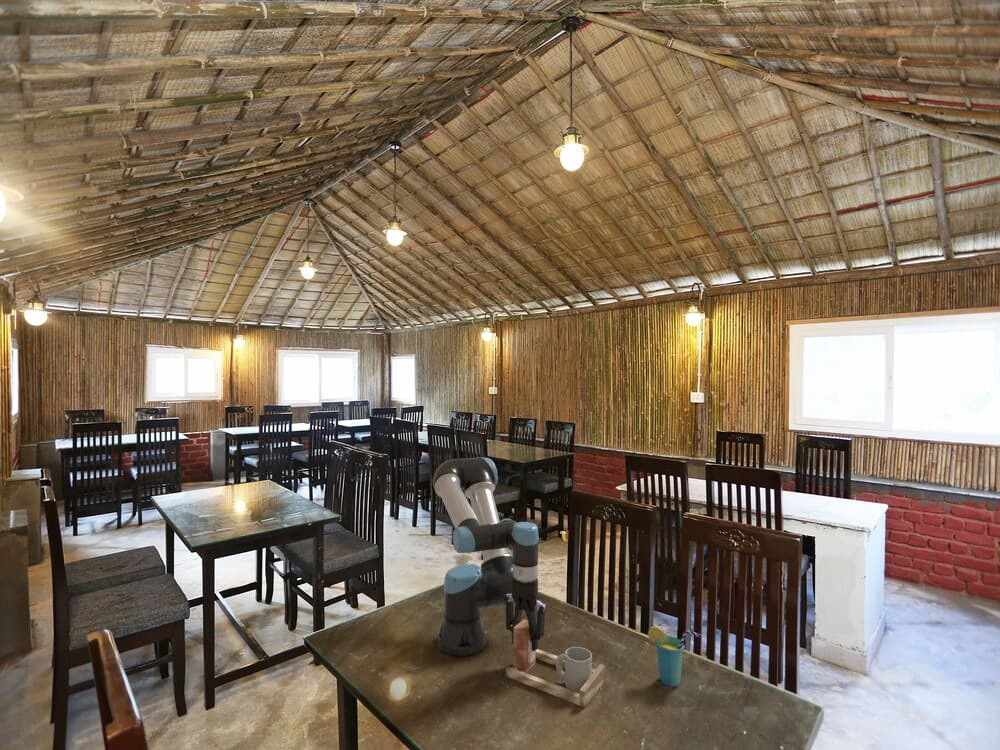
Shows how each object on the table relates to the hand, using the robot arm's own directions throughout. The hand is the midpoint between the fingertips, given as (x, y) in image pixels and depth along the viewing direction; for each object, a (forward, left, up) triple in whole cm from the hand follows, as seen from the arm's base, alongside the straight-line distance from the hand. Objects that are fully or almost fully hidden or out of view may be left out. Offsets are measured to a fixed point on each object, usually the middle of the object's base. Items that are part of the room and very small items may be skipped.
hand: (524, 657), depth 143 cm
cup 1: (+16, 0, -3) cm, 16 cm away
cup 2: (+38, +17, -3) cm, 42 cm away
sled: (+10, 0, -3) cm, 10 cm away
